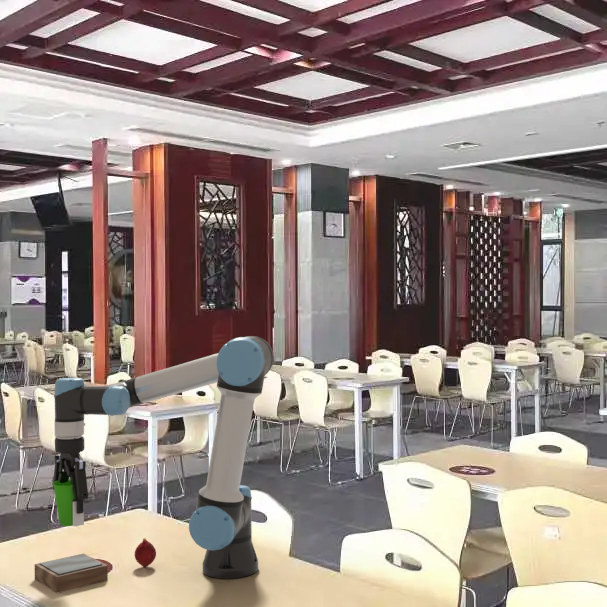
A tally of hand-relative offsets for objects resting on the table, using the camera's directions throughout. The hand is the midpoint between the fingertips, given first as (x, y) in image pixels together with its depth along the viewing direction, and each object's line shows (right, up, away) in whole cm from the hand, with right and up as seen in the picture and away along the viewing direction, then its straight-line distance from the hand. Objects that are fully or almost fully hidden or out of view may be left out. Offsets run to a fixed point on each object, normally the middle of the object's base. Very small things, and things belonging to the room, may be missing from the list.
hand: (70, 521), depth 218 cm
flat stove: (0, -15, 0) cm, 15 cm away
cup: (0, -1, 0) cm, 1 cm away
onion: (+18, -15, +10) cm, 26 cm away
